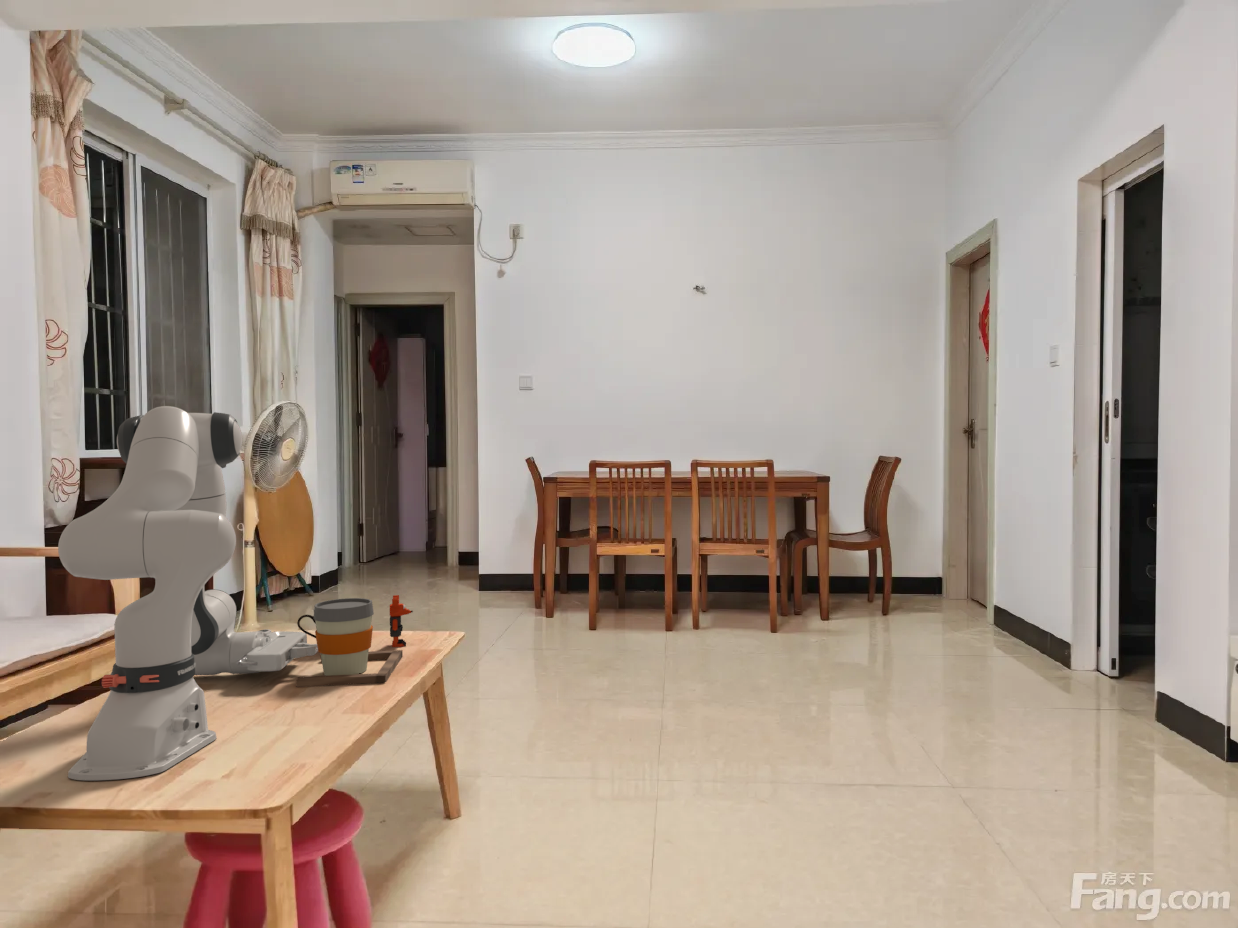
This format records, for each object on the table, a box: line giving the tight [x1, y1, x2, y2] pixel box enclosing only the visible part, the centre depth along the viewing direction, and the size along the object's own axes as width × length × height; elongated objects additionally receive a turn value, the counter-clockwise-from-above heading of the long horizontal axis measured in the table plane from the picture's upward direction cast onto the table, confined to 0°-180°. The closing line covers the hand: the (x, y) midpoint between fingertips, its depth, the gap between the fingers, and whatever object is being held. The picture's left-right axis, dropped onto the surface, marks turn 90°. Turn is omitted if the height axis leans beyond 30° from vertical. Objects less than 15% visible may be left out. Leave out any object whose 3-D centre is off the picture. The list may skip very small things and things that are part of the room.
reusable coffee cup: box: [313, 597, 375, 676], centre depth 177 cm, size 12×13×15 cm
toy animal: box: [389, 594, 414, 648], centre depth 200 cm, size 8×6×12 cm
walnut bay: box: [295, 649, 404, 688], centre depth 177 cm, size 21×18×2 cm
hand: (316, 649), depth 176 cm, fingers closed, pressing on reusable coffee cup
